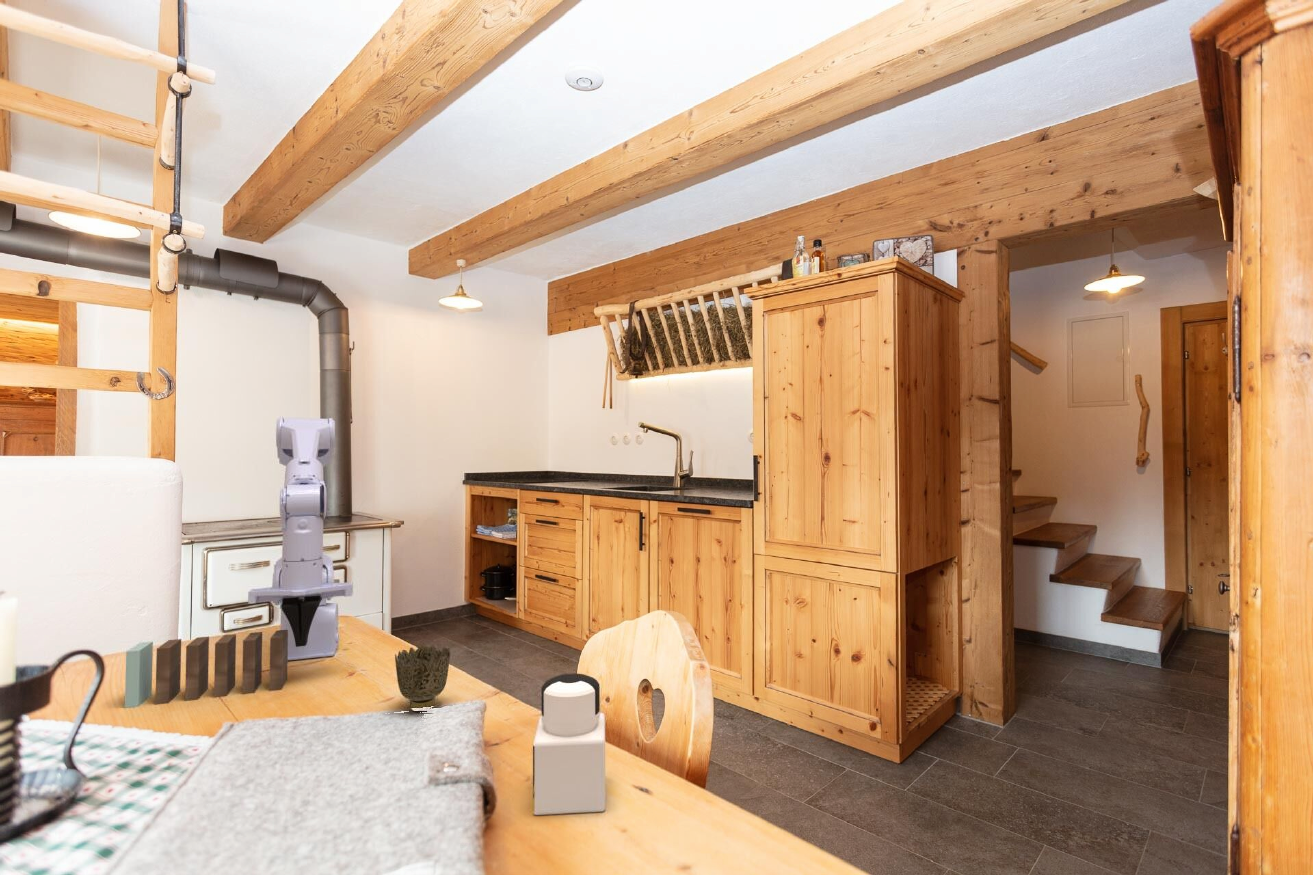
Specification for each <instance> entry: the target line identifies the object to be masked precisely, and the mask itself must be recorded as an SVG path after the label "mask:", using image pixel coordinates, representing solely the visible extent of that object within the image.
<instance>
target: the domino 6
mask: <svg viewBox="0 0 1313 875" xmlns="http://www.w3.org/2000/svg"><path fill="white" fill-rule="evenodd" d="M269 641H270V642H269V644H270V645H269V692H272V691H274V692H275V691H281V690H282V689H283V688H284V686H285V684H286V683H287V681H288V661H289V660H288V630H280V629H279V630H276V631H275V632H274V633H273V634H272V636H271V637H270V639H269Z"/></svg>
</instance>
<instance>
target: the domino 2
mask: <svg viewBox="0 0 1313 875" xmlns="http://www.w3.org/2000/svg"><path fill="white" fill-rule="evenodd" d="M181 667H182V638H177V639H169V640H167V641H165V642H164V643H163V644H161V645H160V646H159V647H157V648H156V666H155V668H156V669H155V673H156V674H155V704H154V705H166V704H170V703H171V702H172V700H174V699H175V698H176V697H177V695H179V693H181V674H182V673H181V671H182V669H181Z"/></svg>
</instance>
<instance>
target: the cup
mask: <svg viewBox="0 0 1313 875" xmlns="http://www.w3.org/2000/svg"><path fill="white" fill-rule="evenodd" d="M451 652H452V649H451V647H448V646H447V645H444V646H443V647H442V649H437V646H436V645H434V644H432V645H431V646H430V647H429V646H428V645H424V644H421V645H419V647H418V648H417V649H415V648H414V647H410V648H409V652H408V651H407V650H405V649H403V650H401V651H400V650H399V651H398V654H396V653H395V655H394V660H395V669H396V678H397V679H396V680H397V684H398V688H399V691H400V694H401V695H402V697H403V698H405V699H406V700H409V701H408V702H409V703H408V707H409V709H410V708H423V707H431V706H435V707H436V704H437V697H438V696H439V695H441V693H442V692H443V691H444V689H445V687H446V684H447V680H448V675H449V668H450V658H451Z"/></svg>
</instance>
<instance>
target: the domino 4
mask: <svg viewBox="0 0 1313 875" xmlns="http://www.w3.org/2000/svg"><path fill="white" fill-rule="evenodd" d="M236 649H237V633H235V634H224V635H223V636H222V637H220V639H218V640H217V641H216V642H215V643H214V679H213V680H214V682H213V685H214V686H213V698H214V699H216V698H223V697H227V696H228V695H229V694H230V693H231V692H232V690H233V688H234V687H235V686H236V659H237V658H236V654H237V650H236Z"/></svg>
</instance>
